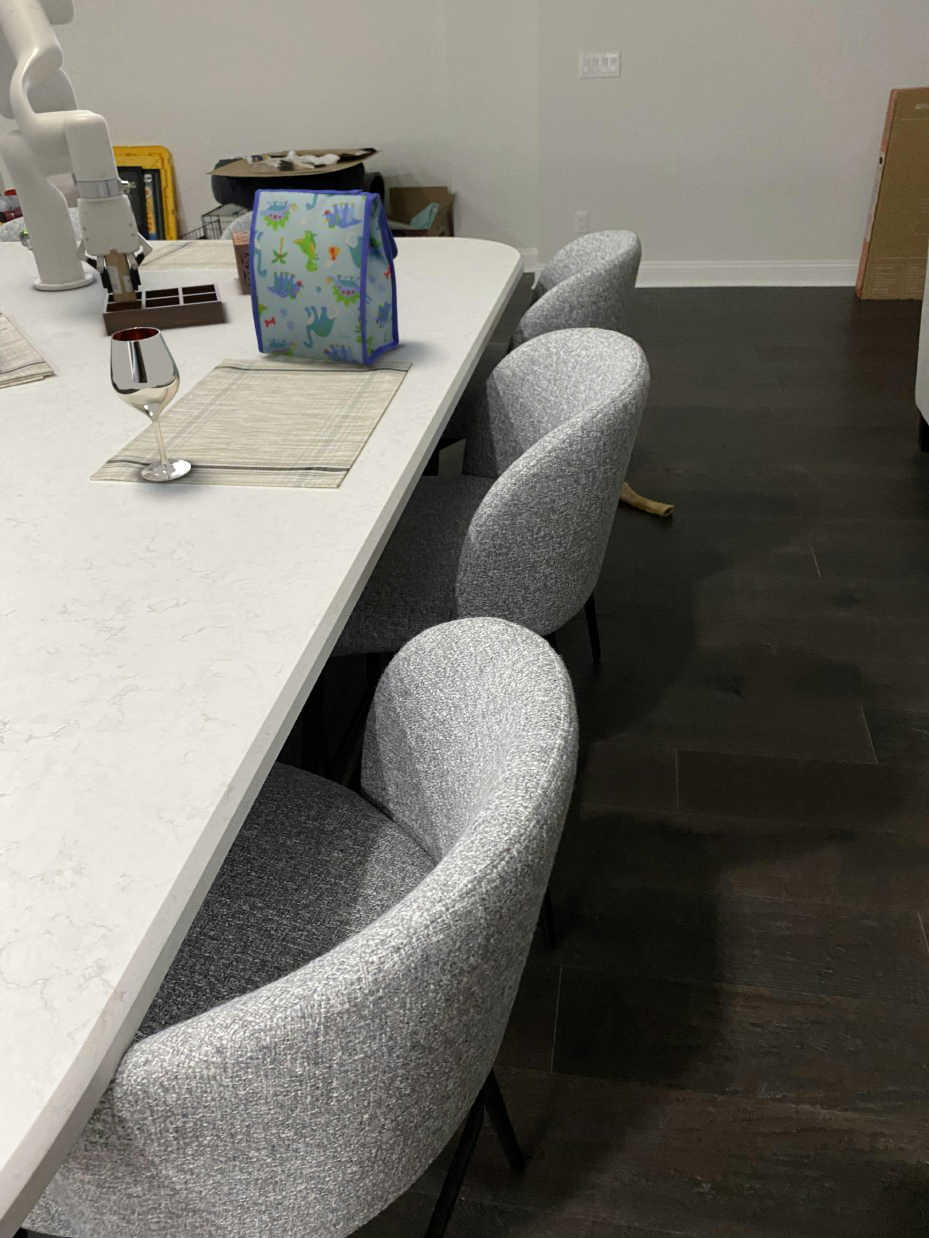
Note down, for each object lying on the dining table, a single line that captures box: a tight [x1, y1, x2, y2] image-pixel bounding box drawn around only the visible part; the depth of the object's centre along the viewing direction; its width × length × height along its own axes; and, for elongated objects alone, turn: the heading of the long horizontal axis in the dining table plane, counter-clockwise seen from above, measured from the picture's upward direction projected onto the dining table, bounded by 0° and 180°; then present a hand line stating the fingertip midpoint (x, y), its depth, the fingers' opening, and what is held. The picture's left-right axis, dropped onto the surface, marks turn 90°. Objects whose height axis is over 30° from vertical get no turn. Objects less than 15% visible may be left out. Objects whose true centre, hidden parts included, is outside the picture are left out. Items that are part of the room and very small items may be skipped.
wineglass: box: [109, 328, 192, 482], centre depth 117 cm, size 8×8×18 cm
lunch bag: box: [249, 188, 400, 366], centre depth 155 cm, size 22×17×26 cm
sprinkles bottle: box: [104, 243, 137, 302], centre depth 180 cm, size 5×5×13 cm
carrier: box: [101, 282, 226, 336], centre depth 182 cm, size 15×22×4 cm
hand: (123, 289), depth 182 cm, fingers closed on sprinkles bottle, 4 cm apart
